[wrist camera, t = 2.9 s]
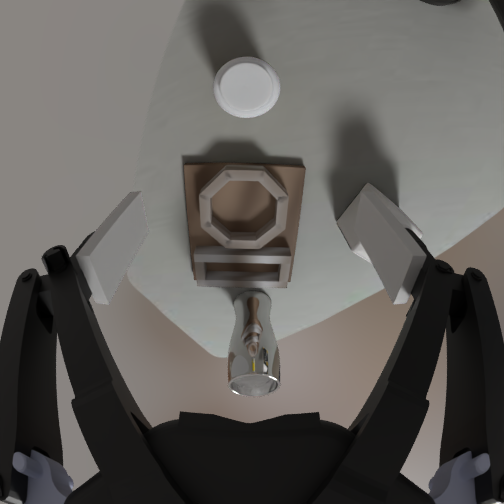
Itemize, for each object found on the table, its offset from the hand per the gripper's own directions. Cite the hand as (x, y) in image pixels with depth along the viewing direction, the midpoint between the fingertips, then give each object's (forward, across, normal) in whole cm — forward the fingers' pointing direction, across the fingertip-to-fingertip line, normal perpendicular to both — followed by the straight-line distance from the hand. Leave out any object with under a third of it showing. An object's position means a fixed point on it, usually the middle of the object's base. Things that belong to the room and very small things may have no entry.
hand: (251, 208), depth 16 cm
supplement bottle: (+17, 0, +7) cm, 19 cm away
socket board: (+17, -1, -11) cm, 20 cm away
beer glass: (+17, 0, -25) cm, 30 cm away
